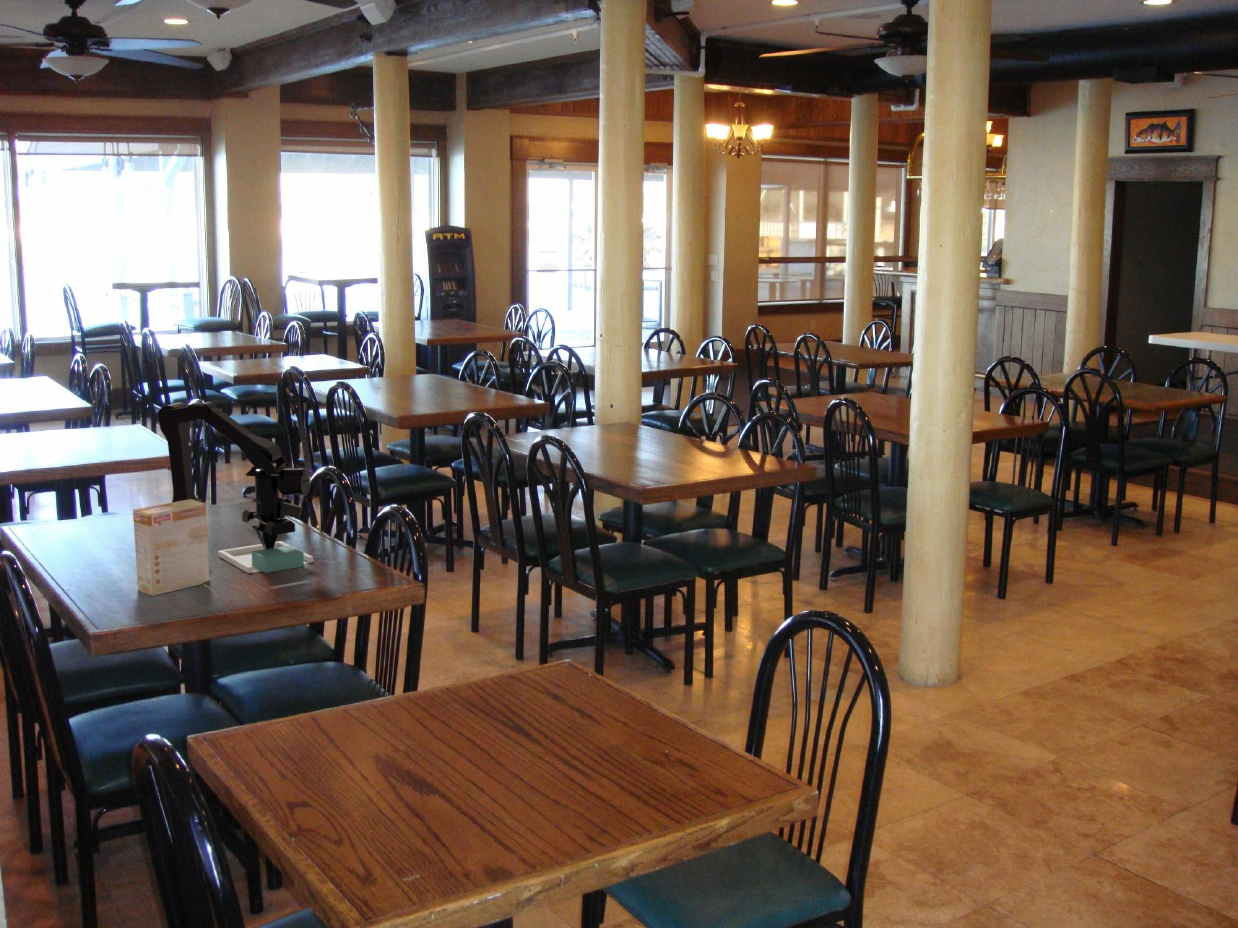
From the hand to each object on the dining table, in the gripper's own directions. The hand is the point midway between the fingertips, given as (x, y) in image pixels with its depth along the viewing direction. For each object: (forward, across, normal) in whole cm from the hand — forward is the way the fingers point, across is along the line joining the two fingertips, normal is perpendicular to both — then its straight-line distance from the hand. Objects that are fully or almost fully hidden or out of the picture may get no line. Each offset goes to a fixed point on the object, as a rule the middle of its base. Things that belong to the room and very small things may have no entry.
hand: (269, 554), depth 305 cm
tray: (+2, +2, 0) cm, 3 cm away
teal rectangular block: (+2, -5, 0) cm, 6 cm away
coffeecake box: (+3, -5, +26) cm, 27 cm away
